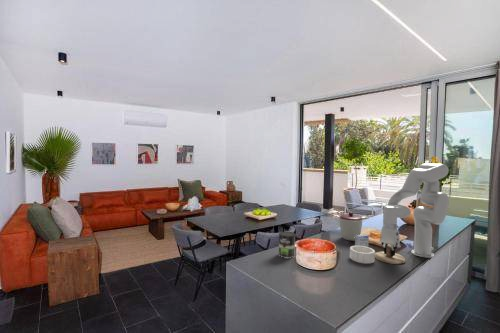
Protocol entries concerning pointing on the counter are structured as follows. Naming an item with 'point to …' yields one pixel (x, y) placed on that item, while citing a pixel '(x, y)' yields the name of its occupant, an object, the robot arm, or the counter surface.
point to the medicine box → (361, 240)
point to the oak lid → (389, 257)
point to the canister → (350, 226)
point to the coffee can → (286, 244)
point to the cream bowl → (362, 254)
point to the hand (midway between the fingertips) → (389, 254)
